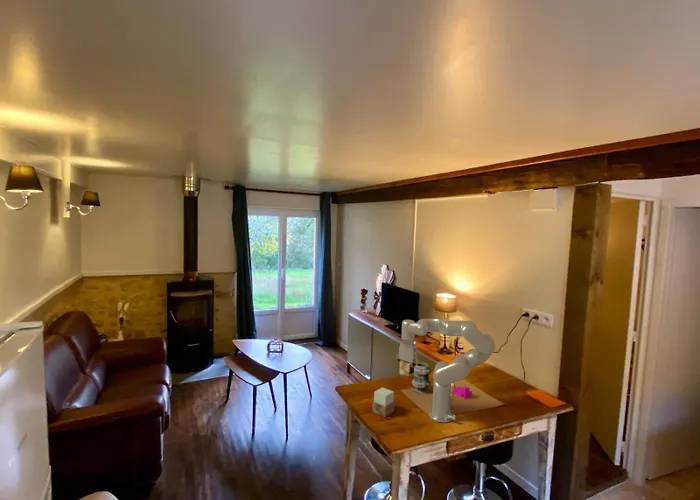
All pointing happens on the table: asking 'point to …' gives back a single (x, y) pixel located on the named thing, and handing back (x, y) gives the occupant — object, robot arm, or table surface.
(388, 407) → the walnut base block
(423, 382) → the apothecary jar
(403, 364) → the oak block
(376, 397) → the sage top block
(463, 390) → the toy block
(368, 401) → the table surface
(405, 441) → the table surface
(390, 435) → the table surface
